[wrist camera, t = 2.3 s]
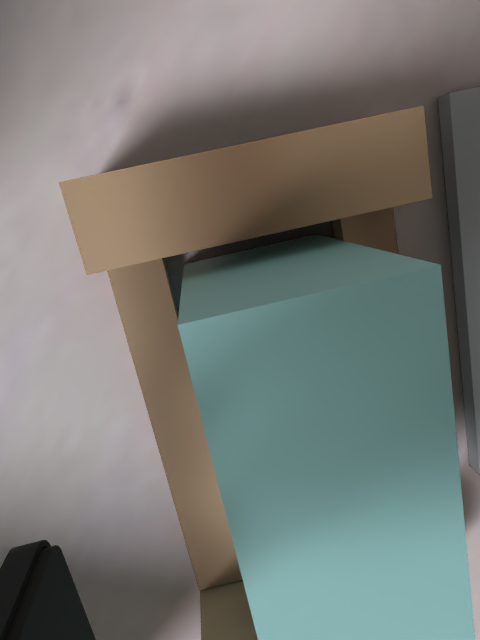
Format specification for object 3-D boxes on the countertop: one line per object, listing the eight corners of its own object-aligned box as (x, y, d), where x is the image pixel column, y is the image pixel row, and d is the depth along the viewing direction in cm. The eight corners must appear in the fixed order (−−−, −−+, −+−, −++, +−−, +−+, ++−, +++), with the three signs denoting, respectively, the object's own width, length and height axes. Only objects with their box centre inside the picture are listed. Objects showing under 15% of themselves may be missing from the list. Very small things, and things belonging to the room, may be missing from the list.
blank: (316, 234, 14) (440, 264, 7) (361, 514, 16) (484, 737, 9) (184, 263, 13) (177, 325, 7) (251, 542, 16) (296, 790, 9)
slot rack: (371, 127, 13) (423, 104, 10) (424, 562, 17) (473, 637, 14) (89, 187, 12) (58, 182, 10) (212, 618, 16) (217, 707, 14)
